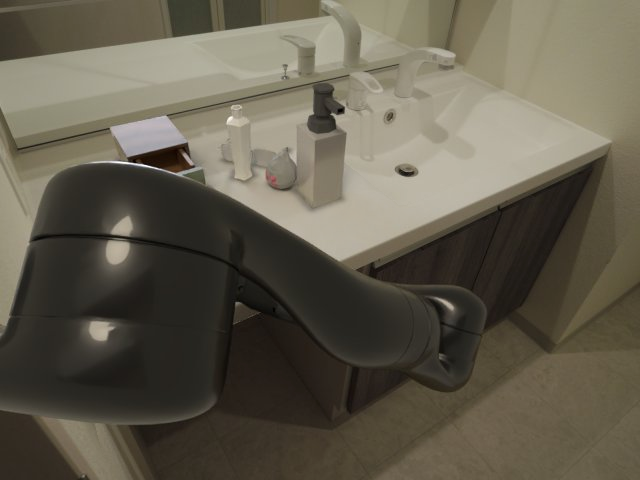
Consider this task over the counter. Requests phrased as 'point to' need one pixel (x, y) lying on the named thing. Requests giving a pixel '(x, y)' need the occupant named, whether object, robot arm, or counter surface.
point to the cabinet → (147, 138)
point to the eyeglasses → (258, 155)
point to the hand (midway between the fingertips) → (178, 251)
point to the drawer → (174, 164)
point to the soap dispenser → (321, 150)
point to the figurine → (281, 170)
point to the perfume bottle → (240, 142)
